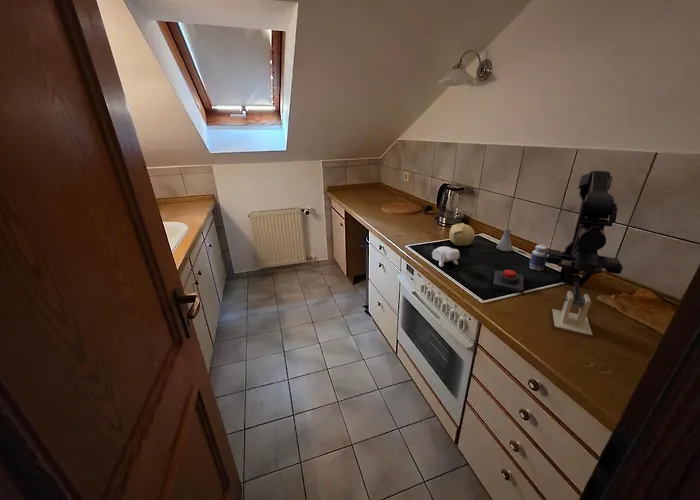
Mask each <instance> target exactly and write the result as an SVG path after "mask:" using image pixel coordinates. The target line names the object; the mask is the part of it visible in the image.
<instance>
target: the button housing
mask: <svg viewBox="0 0 700 500" xmlns="http://www.w3.org/2000/svg"><path fill="white" fill-rule="evenodd" d="M493 274H494V276H493V281H492V284H491V289H492V290H495V291H501V290H505V291H510V292H515V293H518V294H523V293H524V285H525V284H524V282H525V281H524V280H525V277H524V275H523V274H520V273H519V274H518V273H517V272H516V276H515V278H507V277H505V276H503V274H504V270H502V271H501V270H494V273H493Z"/></svg>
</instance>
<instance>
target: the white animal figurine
mask: <svg viewBox="0 0 700 500" xmlns="http://www.w3.org/2000/svg"><path fill="white" fill-rule="evenodd" d="M460 257H461V256H460V250H458V249H457V248H452V247H451V246H443V245H442V246H439V247H437V248H434V249H433V250H432V252H431V259H432V260H433V259H434V260H435V261H437V262H438V266H439V267H440V268H443V267H444V266H445V265H444V263H449V262H452V263H453V264H454V265H455V266H457V265H459V262H458V260H459V259H460Z"/></svg>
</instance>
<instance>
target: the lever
mask: <svg viewBox="0 0 700 500" xmlns="http://www.w3.org/2000/svg"><path fill="white" fill-rule="evenodd" d="M581 281H582V275H580V274H579V275H578V274H572V275H571V276H570V282H571V283H573V285H572V287H573V297H574V300H573V303H572V306H571V307H573V308H578V309H580V308H581V307H582V305H583V303H584V302H583V296H584V295H580V294H581V293H580V286H579V284H580V282H581Z"/></svg>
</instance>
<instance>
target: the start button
mask: <svg viewBox="0 0 700 500" xmlns="http://www.w3.org/2000/svg"><path fill="white" fill-rule="evenodd" d="M503 271H504V274H503V276H505V277H507V278H515V276H516V273H517V272H516V271H515V270H513V269H504V270H503Z"/></svg>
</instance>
